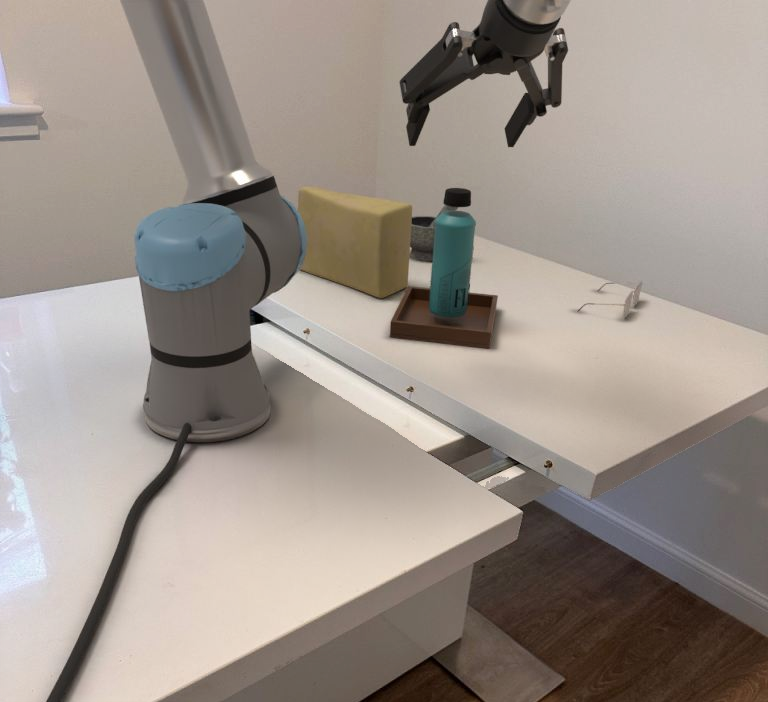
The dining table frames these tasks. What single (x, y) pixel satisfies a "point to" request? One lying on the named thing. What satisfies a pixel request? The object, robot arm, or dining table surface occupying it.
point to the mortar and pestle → (424, 235)
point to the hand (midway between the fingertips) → (460, 137)
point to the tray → (444, 320)
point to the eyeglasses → (628, 299)
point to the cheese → (356, 240)
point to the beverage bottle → (452, 256)
